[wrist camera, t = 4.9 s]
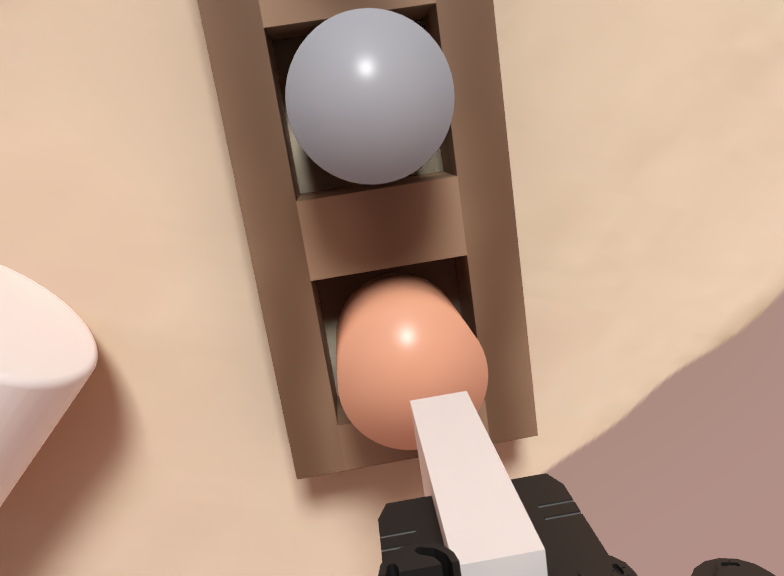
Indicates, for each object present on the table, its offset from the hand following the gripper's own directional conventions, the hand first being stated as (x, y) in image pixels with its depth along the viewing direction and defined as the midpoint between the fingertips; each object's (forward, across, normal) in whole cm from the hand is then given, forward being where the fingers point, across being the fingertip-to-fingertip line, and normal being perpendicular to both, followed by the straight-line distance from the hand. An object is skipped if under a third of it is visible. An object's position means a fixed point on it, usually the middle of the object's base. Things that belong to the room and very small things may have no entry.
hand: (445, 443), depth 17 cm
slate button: (+10, 0, +9) cm, 13 cm away
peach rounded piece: (+10, 0, 0) cm, 10 cm away
